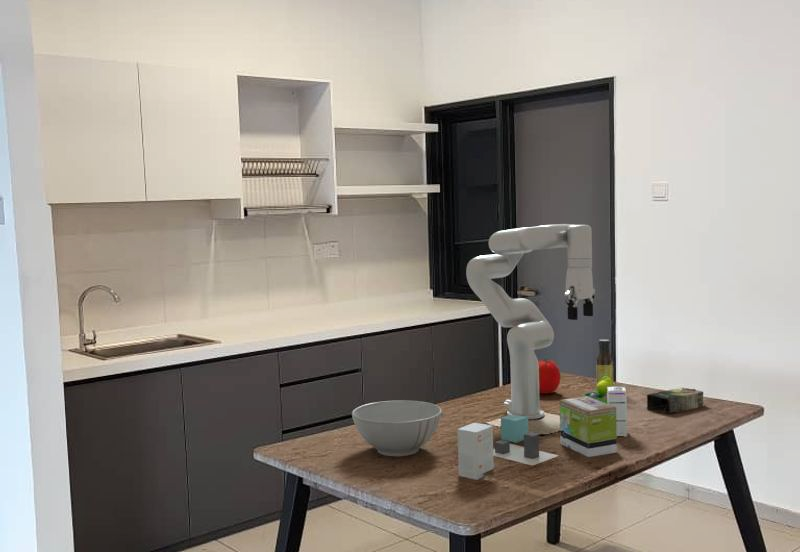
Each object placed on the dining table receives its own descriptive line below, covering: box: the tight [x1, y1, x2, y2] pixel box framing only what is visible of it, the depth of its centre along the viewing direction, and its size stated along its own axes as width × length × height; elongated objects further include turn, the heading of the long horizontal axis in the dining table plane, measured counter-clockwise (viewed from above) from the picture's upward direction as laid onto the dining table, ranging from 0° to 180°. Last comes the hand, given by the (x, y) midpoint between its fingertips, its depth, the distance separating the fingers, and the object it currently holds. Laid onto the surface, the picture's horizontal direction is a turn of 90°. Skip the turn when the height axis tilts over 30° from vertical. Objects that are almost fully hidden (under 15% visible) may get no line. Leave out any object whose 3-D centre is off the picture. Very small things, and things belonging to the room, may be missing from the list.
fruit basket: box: [582, 376, 612, 404], centre depth 292 cm, size 11×9×11 cm
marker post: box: [523, 431, 540, 459], centre depth 237 cm, size 3×3×6 cm
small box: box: [456, 422, 495, 481], centre depth 226 cm, size 8×6×13 cm
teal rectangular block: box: [500, 414, 529, 444], centre depth 255 cm, size 6×6×8 cm
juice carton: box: [646, 387, 705, 414], centre depth 292 cm, size 20×10×6 cm, turn 124°
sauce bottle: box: [595, 339, 615, 392], centre depth 318 cm, size 6×6×20 cm
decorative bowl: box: [351, 399, 443, 457], centre depth 250 cm, size 27×27×12 cm
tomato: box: [538, 358, 561, 395], centre depth 319 cm, size 12×12×13 cm
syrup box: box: [607, 386, 628, 438], centre depth 261 cm, size 6×6×14 cm
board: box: [493, 439, 560, 466], centre depth 240 cm, size 18×12×4 cm, turn 43°
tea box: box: [559, 396, 618, 458], centre depth 243 cm, size 15×10×15 cm, turn 22°
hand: (580, 317), depth 266 cm, fingers open, 9 cm apart
